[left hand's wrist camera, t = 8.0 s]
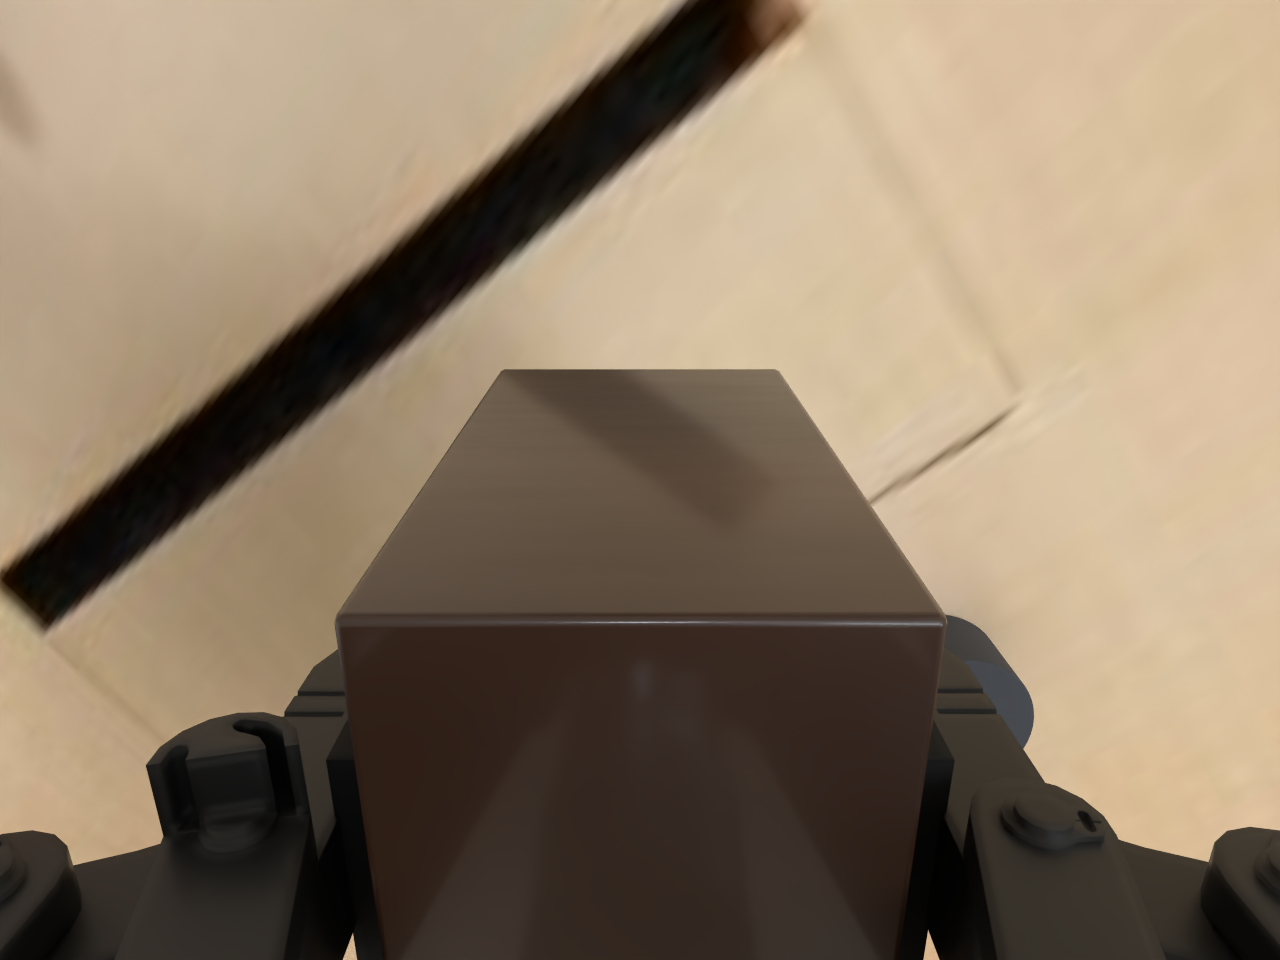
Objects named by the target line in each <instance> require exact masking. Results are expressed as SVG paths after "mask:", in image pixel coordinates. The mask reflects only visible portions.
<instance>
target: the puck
mask: <svg viewBox="0 0 1280 960" xmlns="http://www.w3.org/2000/svg"><path fill="white" fill-rule="evenodd" d="M945 616H946V619H947V628H946V635H945V642H944V648H945V649H947V650H948V651H950V652H951V653H952V654H954V655H955V656H956V657H958V658H959V659H961V660H962V661H963V662H965V663H966V664H967V665H968V666H969V668H970V669H971V671H972V672H973V674H974V675H975V677H976V678H977V680H978V681H979V683H980V685H981V686H982V688H983V693H986V694H987V695H988V697H989V698H990V700H991V701H992V703H993V704H994V706H995V707H996V711H997V714H1000V715H1001V716H1002V718H1003V719H1004V721H1005V723H1006V724H1007V726H1008V727H1009V729H1010V730H1011V732H1012V733H1013V735H1014V736H1015V738H1016V739H1017V741H1018V742H1019V744H1020V745H1021V747H1022V748H1024V747H1025V745H1026V743H1027V741H1028V739H1029V737H1030V734H1031V731H1032V727H1033V720H1034V710H1033V704H1032V700H1031V697H1030V695H1029V692H1028V691H1027V689H1026V687H1025V686H1024V684H1023V683H1022V682H1021V680H1020V679H1019V678H1018V676H1017V675H1016V674H1015V672H1014V671H1013V670H1012V668H1011V667H1010V666H1009V664H1008V663H1007V662H1006V660H1005V659H1004V658H1003V656H1002V655H1001V654H1000V652H999V651H998V650H997V648H996V647H995V646H994V644H993V643H992V642H991V640H990V639H989V638H988V637H987V635H986V634H985V633H984V632H983V631H982V630H980V629H979V628H978V627H977V626H975V625H973V624H972V623H970V622H968V621H966V620H963V619H960V618H957V617H952V616H947V615H945Z"/></svg>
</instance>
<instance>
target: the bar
mask: <svg viewBox="0 0 1280 960" xmlns="http://www.w3.org/2000/svg"><path fill="white" fill-rule="evenodd" d="M334 623H335V630H336V637H337V643H338V650H339V657H340V664H341V671H342V678H343V685H344V692H345V699H346V706H347V713H348V720H349V727H350V734H351V741H352V748H353V755H354V762H355V768H356V775H357V782H358V789H359V796H360V803H361V810H362V817H363V824H364V831H365V838H366V845H367V852H368V859H369V866H370V873H371V880H372V886H373V893H374V900H375V907H376V914H377V921H378V928H379V935H380V942H381V949H382V956H383V960H898V959H899V952H900V945H901V938H902V931H903V924H904V917H905V911H906V904H907V897H908V890H909V883H910V876H911V869H912V862H913V855H914V849H915V842H916V835H917V828H918V821H919V814H920V807H921V800H922V793H923V786H924V780H925V773H926V766H927V759H928V752H929V745H930V738H931V731H932V724H933V718H934V711H935V704H936V697H937V690H938V683H939V676H940V669H941V662H942V655H943V649H944V642H945V635H946V628H947V619H946V616H945V614H944V612H943V611H942V610H941V608H940V607H939V605H938V604H937V602H936V601H935V599H934V598H933V596H932V595H931V593H930V592H929V590H928V589H927V588H926V586H925V585H924V583H923V582H922V580H921V579H920V577H919V576H918V574H917V573H916V571H915V570H914V568H913V567H912V566H911V564H910V563H909V561H908V560H907V558H906V557H905V555H904V554H903V552H902V551H901V549H900V548H899V546H898V545H897V544H896V542H895V541H894V539H893V538H892V536H891V535H890V533H889V532H888V530H887V529H886V527H885V526H884V524H883V523H882V522H881V520H880V519H879V517H878V516H877V514H876V513H875V511H874V510H873V508H872V507H871V505H870V504H869V502H868V501H867V500H866V498H865V497H864V495H863V494H862V492H861V491H860V489H859V488H858V486H857V485H856V483H855V482H854V481H853V479H852V478H851V476H850V475H849V473H848V472H847V470H846V469H845V467H844V466H843V464H842V463H841V461H840V460H839V459H838V457H837V456H836V454H835V453H834V451H833V450H832V448H831V447H830V445H829V444H828V442H827V441H826V439H825V438H824V437H823V435H822V434H821V432H820V431H819V429H818V428H817V426H816V425H815V423H814V422H813V420H812V419H811V417H810V416H809V415H808V413H807V412H806V410H805V409H804V407H803V406H802V404H801V403H800V401H799V400H798V398H797V397H796V395H795V394H794V393H793V391H792V390H791V388H790V387H789V385H788V384H787V382H786V381H785V379H784V378H783V376H782V375H781V374H780V372H779V371H777V370H775V369H764V370H503V371H501V372H500V374H499V375H498V377H497V378H496V380H495V381H494V383H493V384H492V386H491V387H490V389H489V390H488V391H487V393H486V394H485V396H484V397H483V399H482V400H481V402H480V403H479V405H478V406H477V408H476V409H475V411H474V412H473V414H472V415H471V417H470V418H469V420H468V421H467V423H466V424H465V426H464V427H463V429H462V430H461V431H460V433H459V434H458V436H457V437H456V439H455V440H454V442H453V443H452V445H451V446H450V448H449V449H448V451H447V452H446V454H445V455H444V457H443V458H442V460H441V461H440V463H439V464H438V466H437V467H436V469H435V470H434V472H433V473H432V474H431V476H430V477H429V479H428V480H427V482H426V483H425V485H424V486H423V488H422V489H421V491H420V492H419V494H418V495H417V497H416V498H415V500H414V501H413V503H412V504H411V506H410V507H409V509H408V510H407V512H406V513H405V514H404V516H403V517H402V519H401V520H400V522H399V523H398V525H397V526H396V528H395V529H394V531H393V532H392V534H391V535H390V537H389V538H388V540H387V541H386V543H385V544H384V546H383V547H382V549H381V550H380V552H379V553H378V554H377V556H376V557H375V559H374V560H373V562H372V563H371V565H370V566H369V568H368V569H367V571H366V572H365V574H364V575H363V577H362V578H361V580H360V581H359V583H358V584H357V586H356V587H355V589H354V590H353V592H352V593H351V595H350V596H349V597H348V599H347V600H346V602H345V603H344V605H343V606H342V608H341V609H340V611H339V612H338V614H337V616H336V619H335V622H334Z"/></svg>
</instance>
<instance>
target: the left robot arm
mask: <svg viewBox="0 0 1280 960" xmlns="http://www.w3.org/2000/svg"><path fill="white" fill-rule="evenodd" d="M146 768H147V772H148V776H149V780H150V784H151V788H152V792H153V796H154V800H155V804H156V808H157V812H158V816H159V820H160V824H161V828H162V832H163V836H164V837H163V839H162V842H161V844H158V845H155V846H152V847H148V848H145V849H142V850H138V851H134V852H130V853H126V854H121V855H117V856H113V857H108V858H104V859H100V860H95V861H91V862H87V863H82V864H78V865H74V866H73V864H72V860H71V857H70V854H69V850H68V847H67V845H66V844H64V843H63V842H62V841H61V840H60V839H59V838H58V837H57V836H56V835H54V834H49V833H43V832H38V831H24V832H16V833H7V834H1V835H0V960H343V957H344V955H345V952H346V949H347V947H348V944H349V941H350V939H351V936H352V933H353V935H354V942H355V948H356V955H357V960H383V956H382V949H381V942H380V935H379V928H378V921H377V914H376V907H375V900H374V893H373V886H372V880H371V873H370V866H369V859H368V852H367V845H366V838H365V831H364V824H363V817H362V810H361V803H360V796H359V789H358V782H357V775H356V768H355V762H354V755H353V748H352V741H351V734H350V727H349V720H348V713H347V706H346V699H345V692H344V685H343V678H342V671H341V664H340V657H339V650H336V651H335V652H334V653H332V654H331V655H330V656H328V657H327V658H325V659H324V660H323V661H321V662H320V663H319V664H317V665H316V666H314V667H313V669H312V670H311V672H310V674H309V675H308V677H307V678H306V680H305V681H304V683H303V684H302V686H301V687H300V689H299V690H298V696H295V697H294V698H293V700H292V701H291V703H290V704H289V706H288V707H287V709H286V710H285V715H284V717H279V716H276V715H272V714H268V713H265V712H258V713H236V714H231V715H227V716H222V717H218V718H214V719H210V720H207V721H205V722H203V723H200V724H198V725H196V726H193V727H191V728H189V729H187V730H184V731H182V732H181V733H179V734H178V735H176V736H175V737H174V738H172V739H171V740H169V741H168V742H167V743H165V744H164V745H162V746H161V747H160V748H159V749H158V750H157V752H156V753H155V754H154V756H153V757H152V758H151V759H150V761H149V762H148V763H147V765H146ZM928 930H929V933H930V936H931V938H932V941H933V944H934V946H935V949H936V951H937V954H938V957H939V959H940V960H1280V831H1279V830H1271V829H1263V828H1254V827H1247V828H1241V829H1236V830H1230V831H1227V832H1226V833H1224V834H1223V835H1222V836H1221V837H1220V838H1219V839H1218V840H1217V841H1216V842H1215V843H1214V846H1213V850H1212V853H1211V856H1210V860H1209V862H1205V861H1201V860H1197V859H1192V858H1188V857H1183V856H1179V855H1175V854H1170V853H1166V852H1162V851H1157V850H1153V849H1149V848H1144V847H1141V846H1138V845H1134V844H1131V843H1128V842H1124V841H1121V840H1119V839H1118V838H1117V835H1116V834H1115V832H1114V831H1113V829H1112V828H1111V826H1110V825H1109V823H1108V822H1107V820H1106V819H1105V817H1104V816H1103V815H1102V814H1101V813H1099V812H1098V811H1097V810H1096V809H1094V808H1093V807H1092V806H1091V805H1089V804H1088V803H1087V802H1086V801H1085V800H1083V799H1082V798H1080V797H1078V796H1076V795H1074V794H1072V793H1070V792H1068V791H1066V790H1064V789H1062V788H1060V787H1058V786H1055V785H1051V784H1047V783H1045V782H1044V780H1043V779H1042V777H1041V776H1040V774H1039V773H1038V771H1037V770H1036V768H1035V767H1034V765H1033V764H1032V762H1031V761H1030V759H1029V757H1028V756H1027V754H1026V753H1025V751H1024V750H1023V748H1022V747H1021V745H1020V744H1019V742H1018V741H1017V739H1016V738H1015V736H1014V735H1013V733H1012V732H1011V730H1010V729H1009V727H1008V726H1007V724H1006V723H1005V721H1004V719H1003V718H1002V716H1001V715H1000V714H997V711H996V707H995V706H994V704H993V703H992V701H991V700H990V698H989V697H988V695H987V694H986V693H983V688H982V686H981V685H980V683H979V681H978V680H977V678H976V677H975V675H974V674H973V672H972V671H971V669H970V668H969V666H968V665H967V664H966V663H965V662H963V661H962V660H961V659H959V658H958V657H956V656H955V655H954V654H952V653H951V652H950V651H948V650H947V649H945V648H944V649H943V655H942V662H941V669H940V676H939V683H938V690H937V697H936V704H935V711H934V718H933V724H932V731H931V738H930V745H929V752H928V759H927V766H926V773H925V780H924V786H923V793H922V800H921V807H920V814H919V821H918V828H917V835H916V842H915V849H914V855H913V862H912V869H911V876H910V883H909V890H908V897H907V904H906V911H905V917H904V924H903V931H902V938H901V945H900V952H899V959H898V960H923V958H924V952H925V946H926V939H927V933H928Z"/></svg>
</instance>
